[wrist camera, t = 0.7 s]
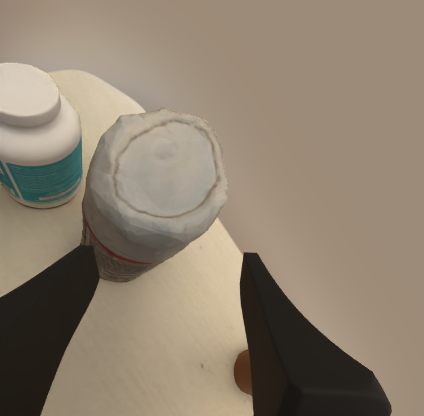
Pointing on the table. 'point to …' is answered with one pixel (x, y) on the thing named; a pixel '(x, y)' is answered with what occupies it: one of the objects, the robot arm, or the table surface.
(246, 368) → the brown bottle
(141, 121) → the spray can
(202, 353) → the table surface
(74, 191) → the pill bottle
